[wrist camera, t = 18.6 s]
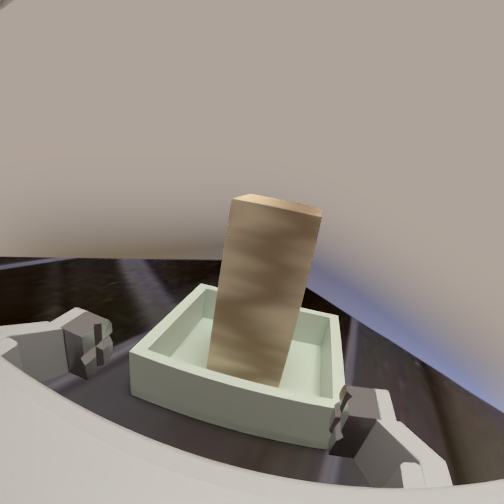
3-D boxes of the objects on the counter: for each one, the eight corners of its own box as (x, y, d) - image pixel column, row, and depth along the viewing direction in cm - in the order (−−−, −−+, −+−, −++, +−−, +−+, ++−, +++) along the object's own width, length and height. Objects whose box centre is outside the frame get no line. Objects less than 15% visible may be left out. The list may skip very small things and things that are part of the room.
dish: (130, 394, 18) (129, 351, 17) (197, 316, 30) (201, 283, 29) (326, 449, 16) (346, 410, 15) (327, 349, 28) (338, 315, 27)
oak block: (205, 375, 21) (232, 198, 18) (225, 341, 26) (250, 193, 22) (276, 393, 20) (321, 217, 17) (284, 356, 25) (320, 208, 22)
